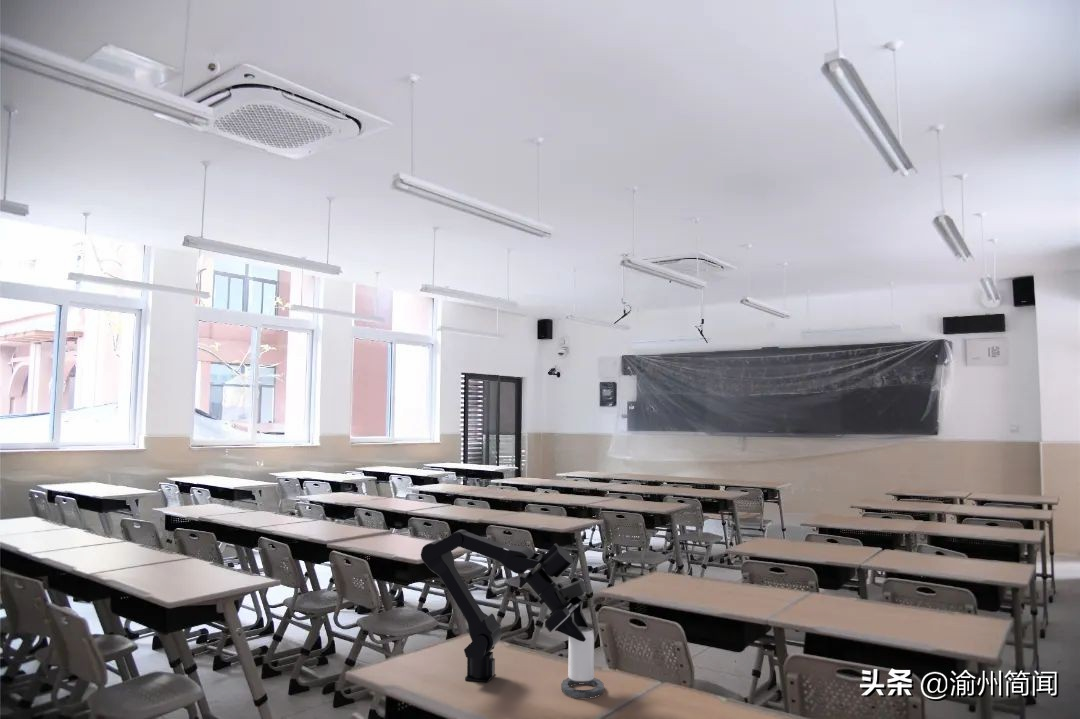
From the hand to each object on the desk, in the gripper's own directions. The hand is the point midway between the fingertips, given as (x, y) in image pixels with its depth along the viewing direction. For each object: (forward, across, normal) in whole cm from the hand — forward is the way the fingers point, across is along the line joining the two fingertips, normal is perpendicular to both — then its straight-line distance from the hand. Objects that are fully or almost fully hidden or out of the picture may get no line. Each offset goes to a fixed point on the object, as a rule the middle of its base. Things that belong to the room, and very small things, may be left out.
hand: (587, 637), depth 176 cm
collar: (+9, 0, +10) cm, 13 cm away
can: (+6, -1, +8) cm, 10 cm away
